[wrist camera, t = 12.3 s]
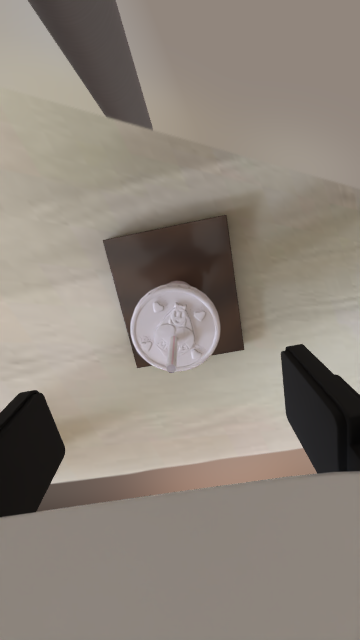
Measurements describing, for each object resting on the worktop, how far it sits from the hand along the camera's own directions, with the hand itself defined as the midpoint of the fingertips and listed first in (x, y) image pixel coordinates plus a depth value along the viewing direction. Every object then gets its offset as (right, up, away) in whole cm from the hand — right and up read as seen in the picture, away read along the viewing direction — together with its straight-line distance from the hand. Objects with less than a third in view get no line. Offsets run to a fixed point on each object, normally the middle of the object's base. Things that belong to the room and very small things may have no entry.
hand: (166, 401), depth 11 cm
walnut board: (0, +6, +19) cm, 20 cm away
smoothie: (0, +5, +18) cm, 19 cm away
